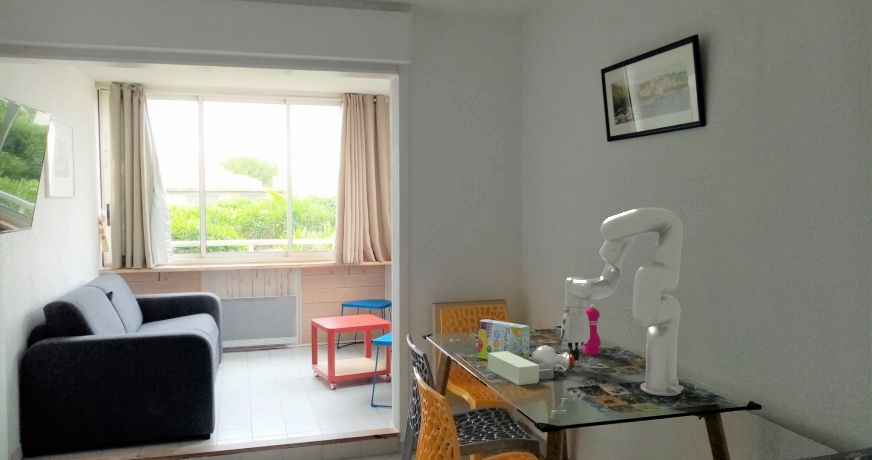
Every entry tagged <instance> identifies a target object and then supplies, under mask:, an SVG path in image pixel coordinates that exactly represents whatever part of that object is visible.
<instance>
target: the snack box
mask: <svg viewBox="0 0 872 460" xmlns="http://www.w3.org/2000/svg"><path fill="white" fill-rule="evenodd" d="M530 328H531V326H530V325H526V324H518V323H513V322H507V321H501V320H500V321H499V320H493V319H480V320H478V345H477V347H478V351H477V352H478V353H477V354H478V355H477V358H479V359H483V360H487V361H488V353H493V352H503V351H508V352H510V353H512V354H515V355H517V356H519V357H521V358H524V359H530V340H531V339H530V336H531V335H530V334H531V333H530V332H531V329H530Z"/></svg>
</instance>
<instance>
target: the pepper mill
mask: <svg viewBox="0 0 872 460" xmlns="http://www.w3.org/2000/svg"><path fill="white" fill-rule="evenodd" d="M589 307H590V308H587V309H586V314H587V315H588V319H589V327H590V339H589V340H588V342H587V343H585V344H583V345H582V346H584V347H583V354H585V355H589V356H596V355H600V348H599V347H600V346H601V344H602V342H601V341H602V340H601V338H600V335H599V333H598V325H599V319H600V316H601V314H600V311H599V310H598V309H597V308H595V305H594V304H592V303H591V304H590V306H589Z"/></svg>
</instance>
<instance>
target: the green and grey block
mask: <svg viewBox="0 0 872 460" xmlns="http://www.w3.org/2000/svg"><path fill="white" fill-rule="evenodd" d="M487 370H489V371H490V372H493V374H496V375H497V376H500V377H502V378H504V379H506V380H508V381H509V382H511V383H513V384H516V385H517V386H522V385H533V384H539V383H540V380H539V379H541V380H549V379H554V377H555V376H554V375H555V370H554V369H552V368H551V369H542V370H539V365H537V364H535V363H533V362H532V358H529V359H524V358H521V357H519V356H517V355H515V354H512V353H510V352H508V351H503V352H493V353H488V360H487ZM538 382H539V383H538Z"/></svg>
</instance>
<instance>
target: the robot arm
mask: <svg viewBox="0 0 872 460" xmlns="http://www.w3.org/2000/svg"><path fill="white" fill-rule="evenodd" d="M653 234H656V235H657V237H656V240H655V242H654V245H653V249H652V259H651V260H652V261H651V262H648V263H644V264H642V265H641V266H640V267H639V268H638V269H637V270H636V273H635V274H634V275H635V276H634V280H633V289H632V290H633V291H632V293H633V295H632V306H631V307H632V308H631V309H632V310H631V311H632V316H633V318H634V320H635V321H636V323H637V324H638V325H640V326H641V327H645V328H647V331H646V343H645V350H646V351H645V379H644V380H645V382H643V383H641V384H640V390H641V391H642V392H643V393H647V394H650V395H653V396H654V395H655V396H659V397H660V396H663V397H675V396H679V395H680V394H681V393H682V391H683V390H684V388H685V387H684V385H680V384H679V380H680V379H677V365H678V364H677V362H678V361H677V360H678V359H677V358H678V335H679V334H678V333H679V327H680V322H681V315H682V311H681V310H682V309H681V305H680V302H679V300H678V299H677V298H675V297H674V296H673V295H670V294H668V293H667V294H665V293H663V294H662V292H669V291H671V290H674V289H675V288H676V287H678V284H679V283H680V271H681V259H682V245H683V238H684V226H683V222H682V220H681V219H680V217H679V216H678V215H677V214H676V213H675V212H674V211H672V210H671V209H667V208H663V207H639V208H638V207H637V208H634V209H631V210H627V211H625V212H622V213H621V212H620V213H618V214H615V215H612V216H610V217H607V218H605V220H603V222H602V224H601V225H600V235H601V237H602V239H603V240H604V242H603V244H602V246H600V247H601V248H600V249H599V253H598V254H599V256H600V258H601V259H602V260H603V261H604V262H605V266H604V269H603V271H602V273H601V275H600V276H599V277H594V278H588V279H585V278H584V277H581V276H570V277H569V276H568V277H566V279H565V283H564V284H565V286H564V287H565V288H564V289H565V290H564V293H565V294H564V296H565V297H564V308H562V312H563V315H562V319H561V320H562V321H561V328H560V338H561V345H563V346H567V347H568V350H569V355H570V354H571V353H572V354H573V355H574V362H575V361H577V362H578V361H579V360H580V350H581V349H582V346H584V345H583V344H585V343H587V342H588V340H589V339H590V327H589V319H588V315H587V314H586V310H587V309H586V308H587V301H594V300H600V299H607V298H608V297H610V296H611V295H612V294H613V293H614V291H615V290H616V288H617V286H618V284H619V283H620V281H621V280H622V279H621V278H622V274H623V264H622V263H623V261H624V259H625V257H626V256H627V254H628V252H629V250H630V249H631V246H632V245H633V243H634V242H635V239H636V238H637V236H640V235H641V236H642V235H653ZM678 394H679V395H678Z"/></svg>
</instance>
